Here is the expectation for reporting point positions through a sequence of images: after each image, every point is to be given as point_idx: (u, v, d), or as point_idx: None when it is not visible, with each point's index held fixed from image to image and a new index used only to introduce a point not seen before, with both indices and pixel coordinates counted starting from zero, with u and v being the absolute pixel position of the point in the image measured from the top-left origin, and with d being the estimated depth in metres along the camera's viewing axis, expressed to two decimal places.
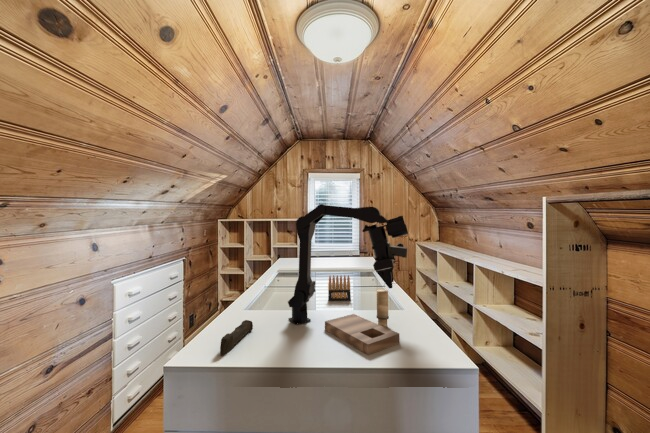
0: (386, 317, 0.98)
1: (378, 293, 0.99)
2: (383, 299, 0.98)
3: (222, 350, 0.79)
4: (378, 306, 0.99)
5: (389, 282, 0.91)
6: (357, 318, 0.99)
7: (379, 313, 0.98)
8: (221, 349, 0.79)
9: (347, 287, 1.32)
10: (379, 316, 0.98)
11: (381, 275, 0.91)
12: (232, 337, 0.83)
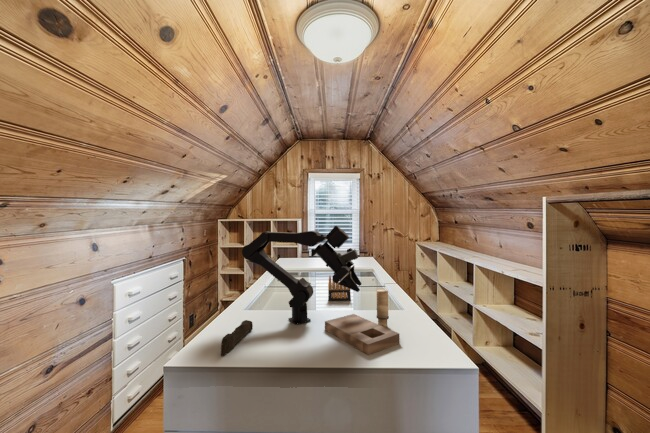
0: (386, 317, 0.98)
1: (378, 293, 0.99)
2: (383, 299, 0.98)
3: (223, 350, 0.79)
4: (378, 306, 0.99)
5: (354, 286, 0.96)
6: (357, 318, 0.99)
7: (379, 313, 0.98)
8: (222, 349, 0.79)
9: None
10: (379, 316, 0.98)
11: (344, 284, 0.96)
12: (233, 337, 0.83)
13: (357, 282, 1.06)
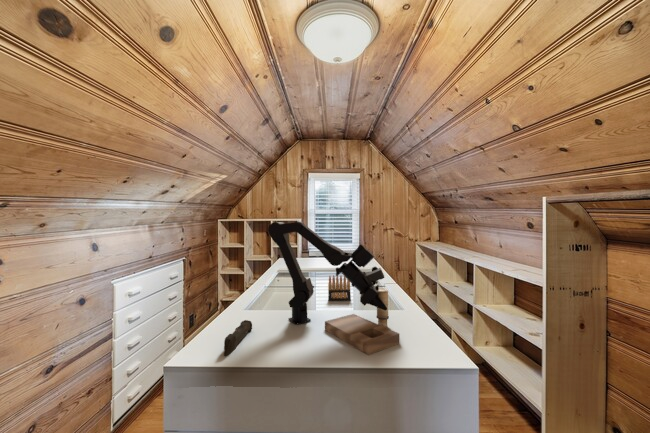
0: (386, 317, 0.98)
1: None
2: (383, 299, 0.98)
3: (226, 350, 0.79)
4: None
5: (382, 305, 0.97)
6: (357, 318, 0.99)
7: (379, 313, 0.98)
8: (225, 349, 0.78)
9: (347, 287, 1.32)
10: (379, 316, 0.98)
11: (372, 303, 0.97)
12: (235, 337, 0.83)
13: None
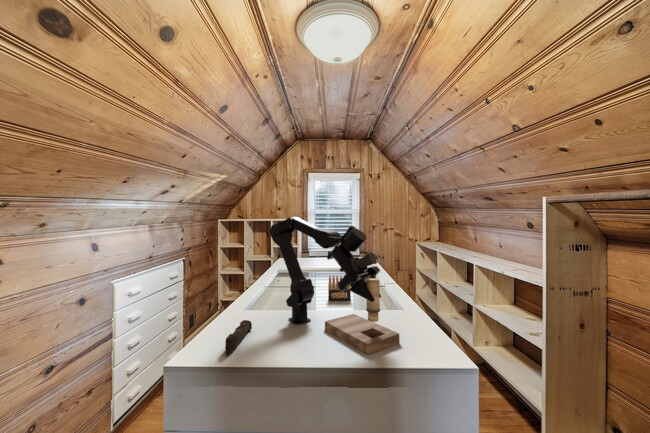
0: (374, 310, 0.85)
1: (366, 282, 0.87)
2: (371, 288, 0.85)
3: (228, 350, 0.79)
4: None
5: (368, 296, 0.85)
6: (357, 318, 0.99)
7: (367, 304, 0.86)
8: (227, 349, 0.78)
9: (347, 287, 1.32)
10: (367, 308, 0.86)
11: (357, 292, 0.86)
12: (236, 337, 0.83)
13: None
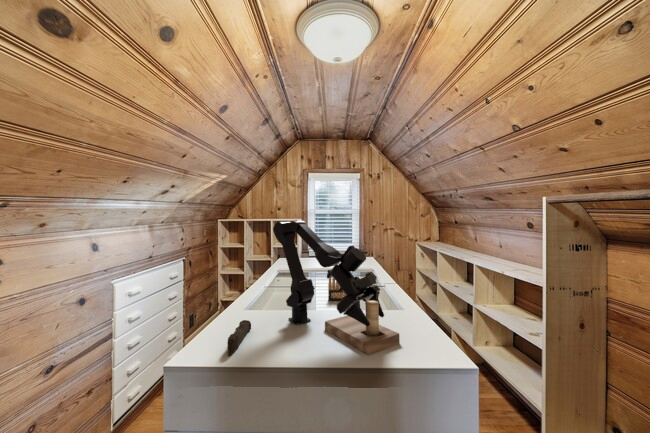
0: (373, 333, 0.84)
1: (365, 304, 0.86)
2: (370, 311, 0.85)
3: (230, 350, 0.79)
4: None
5: (363, 319, 0.82)
6: None
7: (366, 327, 0.86)
8: (229, 349, 0.78)
9: None
10: (366, 331, 0.86)
11: (352, 315, 0.83)
12: (238, 337, 0.83)
13: (379, 313, 0.90)
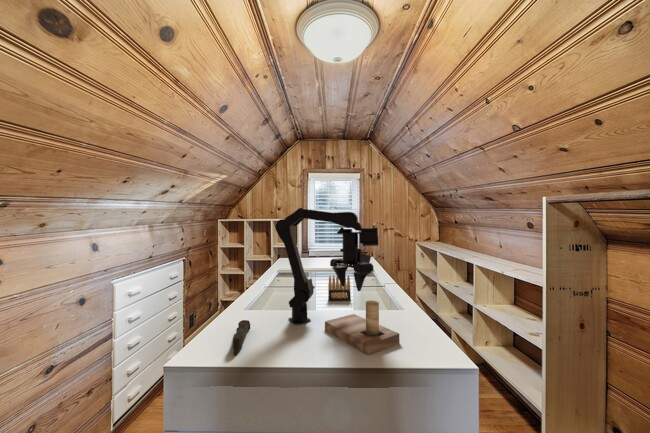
0: (373, 333, 0.84)
1: (366, 304, 0.86)
2: (370, 311, 0.84)
3: (236, 349, 0.79)
4: (366, 319, 0.86)
5: (360, 285, 0.98)
6: (357, 318, 0.99)
7: (366, 327, 0.86)
8: (235, 349, 0.79)
9: (347, 287, 1.32)
10: (366, 331, 0.86)
11: (358, 278, 0.96)
12: (242, 336, 0.83)
13: (343, 282, 1.06)
